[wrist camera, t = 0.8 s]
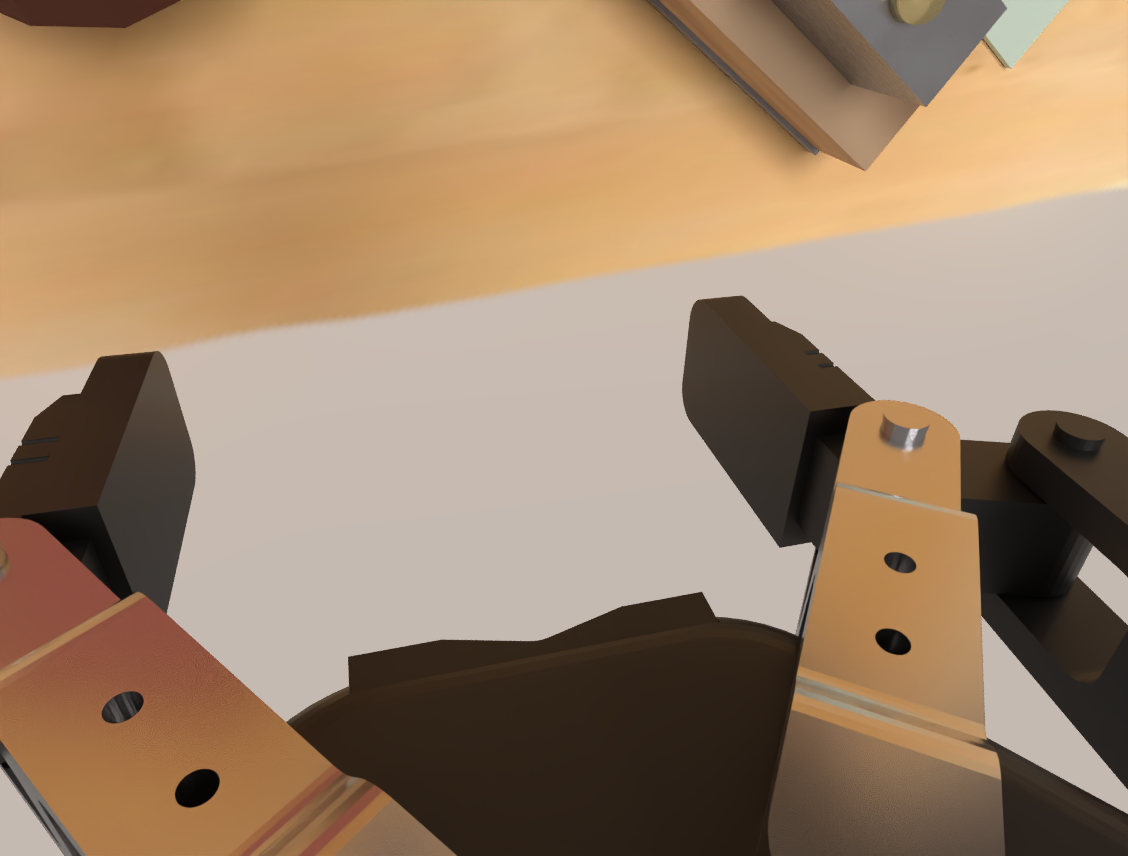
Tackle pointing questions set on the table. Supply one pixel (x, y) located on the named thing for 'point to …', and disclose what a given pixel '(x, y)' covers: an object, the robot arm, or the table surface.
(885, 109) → the body
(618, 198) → the table surface
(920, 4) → the block with brass knob
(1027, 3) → the mat
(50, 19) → the muffin
